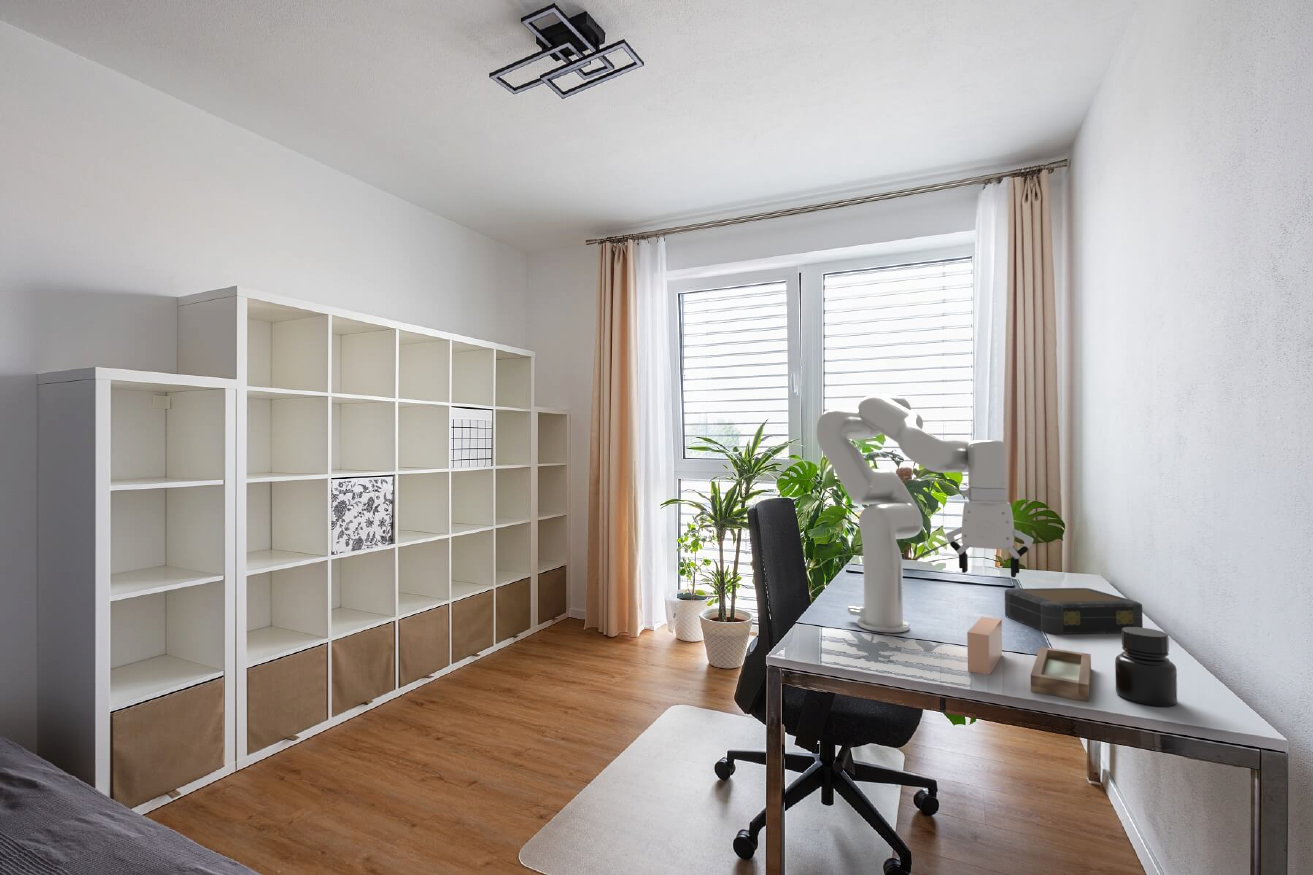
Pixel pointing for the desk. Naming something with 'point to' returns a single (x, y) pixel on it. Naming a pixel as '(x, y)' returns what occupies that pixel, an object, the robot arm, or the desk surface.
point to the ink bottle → (1146, 668)
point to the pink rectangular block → (984, 645)
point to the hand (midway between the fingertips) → (988, 574)
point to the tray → (1062, 673)
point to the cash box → (1072, 610)
